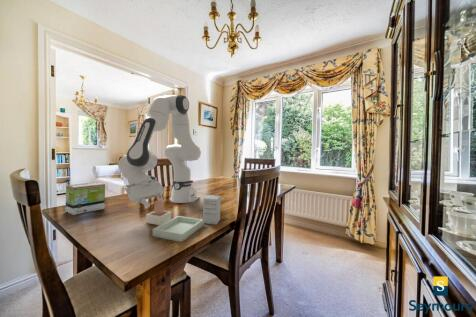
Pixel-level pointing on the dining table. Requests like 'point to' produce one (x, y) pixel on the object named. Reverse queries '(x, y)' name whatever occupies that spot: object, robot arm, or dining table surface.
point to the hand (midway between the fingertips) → (155, 204)
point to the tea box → (85, 197)
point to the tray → (178, 228)
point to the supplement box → (211, 209)
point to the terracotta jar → (159, 207)
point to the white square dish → (158, 218)
